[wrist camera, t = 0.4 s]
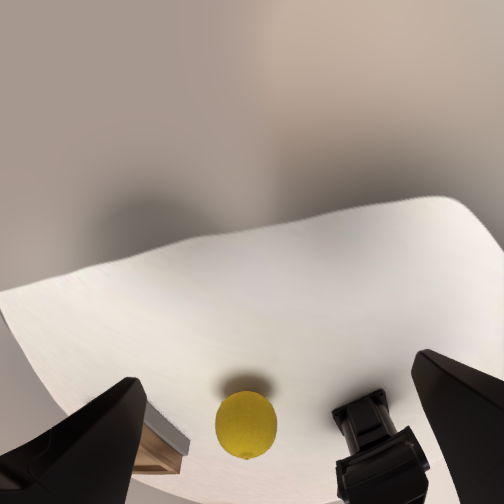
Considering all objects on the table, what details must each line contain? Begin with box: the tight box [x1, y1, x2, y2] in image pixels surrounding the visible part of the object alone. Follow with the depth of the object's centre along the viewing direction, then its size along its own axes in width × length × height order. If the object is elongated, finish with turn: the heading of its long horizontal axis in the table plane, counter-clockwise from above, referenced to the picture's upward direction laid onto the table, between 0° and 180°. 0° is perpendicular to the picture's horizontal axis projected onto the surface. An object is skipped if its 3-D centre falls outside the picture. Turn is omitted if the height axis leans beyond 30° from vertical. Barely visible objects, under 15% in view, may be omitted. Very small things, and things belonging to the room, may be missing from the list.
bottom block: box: [144, 401, 190, 456], centre depth 26 cm, size 10×10×3 cm
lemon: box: [215, 391, 277, 460], centre depth 21 cm, size 6×6×8 cm
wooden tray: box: [132, 422, 183, 475], centre depth 23 cm, size 9×9×3 cm
